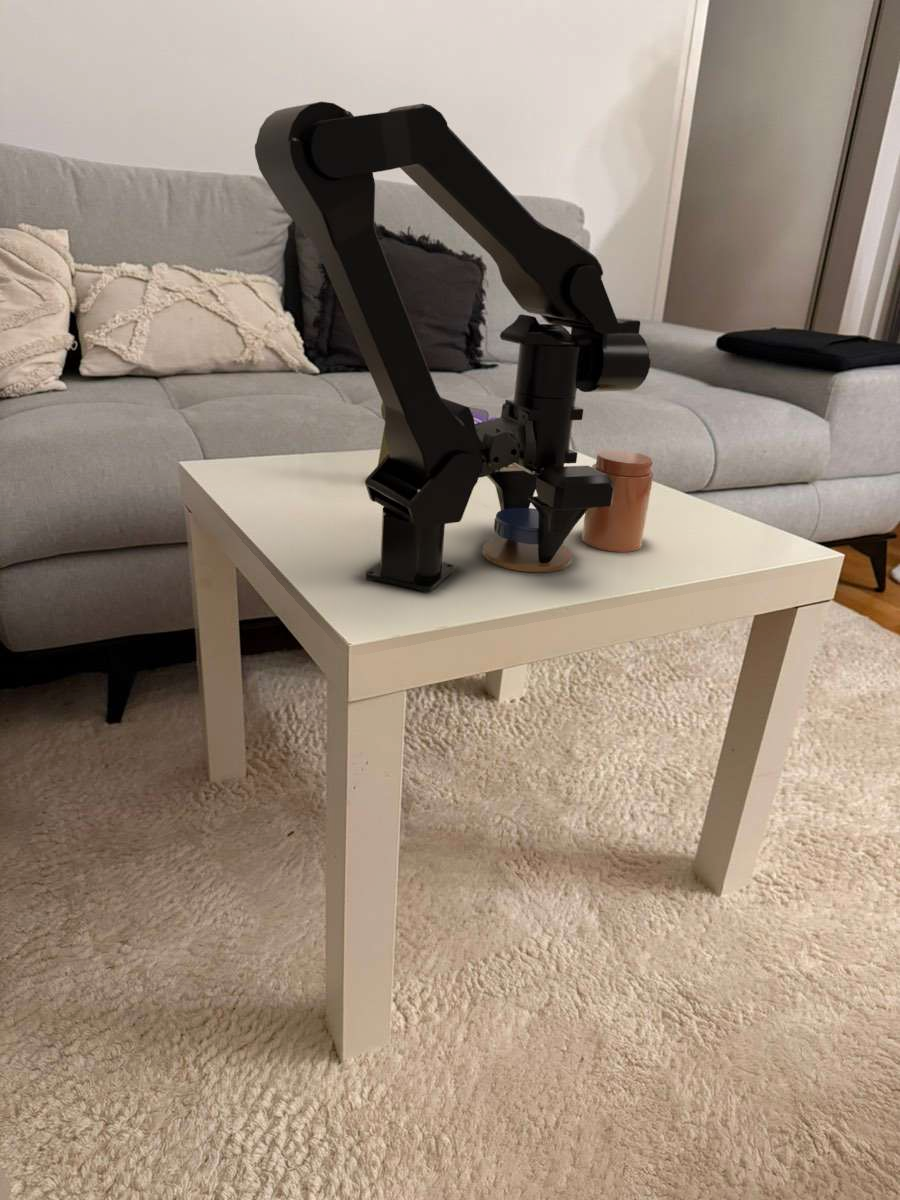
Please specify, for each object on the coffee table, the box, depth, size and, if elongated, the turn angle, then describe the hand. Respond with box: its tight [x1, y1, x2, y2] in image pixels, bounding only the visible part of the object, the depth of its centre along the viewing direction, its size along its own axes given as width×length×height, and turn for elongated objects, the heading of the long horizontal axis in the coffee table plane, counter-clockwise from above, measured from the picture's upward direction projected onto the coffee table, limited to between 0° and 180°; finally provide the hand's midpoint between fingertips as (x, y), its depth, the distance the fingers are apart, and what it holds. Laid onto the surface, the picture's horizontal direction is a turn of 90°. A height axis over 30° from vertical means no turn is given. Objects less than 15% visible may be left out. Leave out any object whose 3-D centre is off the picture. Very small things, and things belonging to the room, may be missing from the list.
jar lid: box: [493, 507, 539, 544], centre depth 85 cm, size 7×7×2 cm
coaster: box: [482, 536, 573, 574], centre depth 86 cm, size 9×9×1 cm
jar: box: [581, 449, 654, 553], centre depth 90 cm, size 6×6×9 cm
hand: (527, 550), depth 86 cm, fingers closed on jar lid, 6 cm apart
